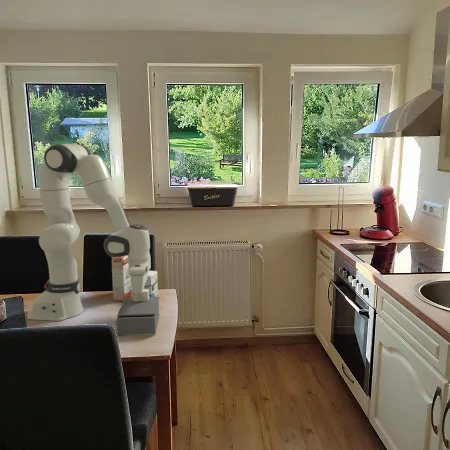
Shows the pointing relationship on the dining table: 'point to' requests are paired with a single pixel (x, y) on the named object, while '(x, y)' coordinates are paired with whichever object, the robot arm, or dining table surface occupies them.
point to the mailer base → (138, 324)
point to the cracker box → (121, 278)
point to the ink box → (152, 283)
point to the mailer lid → (139, 305)
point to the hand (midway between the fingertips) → (140, 297)
